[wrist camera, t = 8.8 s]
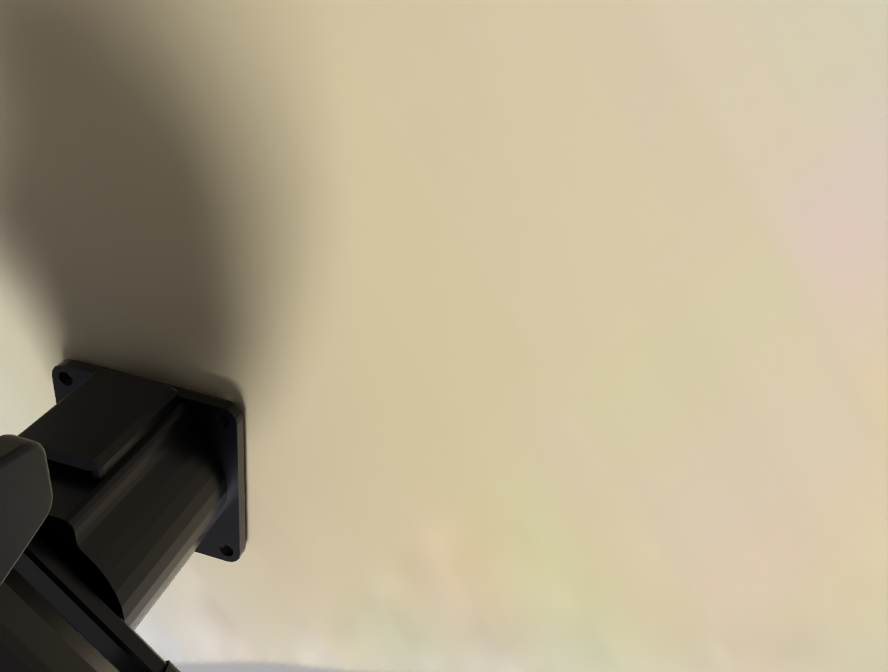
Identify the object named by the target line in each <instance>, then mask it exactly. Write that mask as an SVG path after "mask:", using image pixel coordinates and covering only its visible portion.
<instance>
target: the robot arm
mask: <svg viewBox="0 0 888 672" xmlns="http://www.w3.org/2000/svg"><path fill="white" fill-rule="evenodd" d="M68 374H69V375H70V376H71V377H72V378H71V377H70V376H69V375H68ZM52 378H53V384H54V390H55V397H56V403H57V404H56V405H55V406H54V407H53V408H51V409H50V410H49V411H48V412H46V413H45V414H44V415H43V416H41V417H40V418H39V419H38V420H36V421H35V422H34V423H33V424H32V425H30V426H29V427H28V428H27V429H25V430H24V431H23V432H22V433H20V434H19V435H18V436H16V435H2V436H0V672H180V671H179V670H178V669H177V668H176V667H175V666H174V665H173V664H172V663H171V662H170V661H164V660H163V659H162V658H161V657H160V656H159V655H158V654H157V653H156V652H155V651H154V650H153V649H152V648H151V647H150V646H149V645H148V644H147V643H146V642H145V641H144V640H143V639H142V638H141V637H140V636H139V635H138V634H137V633H136V632H135V631H134V630H135V629H136V627H137V626H138V625H139V623H140V622H141V621H142V619H143V618H144V617H145V615H146V614H147V613H148V612H149V610H150V609H151V608H152V606H153V605H154V604H155V602H156V601H157V600H158V598H159V597H160V596H161V594H162V593H163V592H164V591H165V589H166V588H167V587H168V585H169V584H170V583H171V581H172V580H173V579H174V577H175V576H176V575H177V573H178V572H179V571H180V570H181V568H182V567H183V566H184V564H185V563H186V562H187V560H188V559H189V558H190V556H191V555H192V554H193V552H194V551H195V552H198V553H202V554H205V555H208V556H212V557H215V558H218V559H221V560H225V561H229V562H234V561H237V560H238V559H239V558H240V556H241V555H242V553H243V552H244V550H245V490H244V432H243V415H242V412H241V410H240V409H239V407H238V406H236V405H235V404H234V403H232V402H230V401H227V400H223V399H219V398H215V397H212V396H208V395H204V394H200V393H197V392H193V391H189V390H185V389H181V388H178V387H174V386H170V385H166V384H163V383H159V382H155V381H151V380H147V379H144V378H140V377H136V376H132V375H129V374H125V373H121V372H117V371H114V370H110V369H106V368H102V367H98V366H95V365H91V364H87V363H83V362H80V361H76V360H72V359H66V360H64V361H62V362H61V363H59V364H58V365H57V366H55V367H54V369H53V370H52ZM222 414H223V415H225V416H226V417H227V418H228V419H229V421H228V420H226V419H225V418H224V417H223V416H222Z"/></svg>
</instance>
